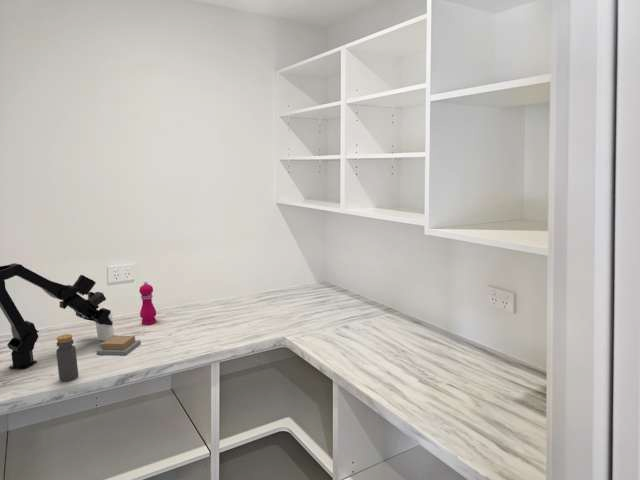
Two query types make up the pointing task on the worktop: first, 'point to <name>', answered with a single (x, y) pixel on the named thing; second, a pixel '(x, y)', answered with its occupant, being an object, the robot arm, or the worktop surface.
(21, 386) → the worktop surface
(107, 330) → the can
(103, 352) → the plinth
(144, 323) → the pepper mill
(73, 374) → the bottle
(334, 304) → the worktop surface
